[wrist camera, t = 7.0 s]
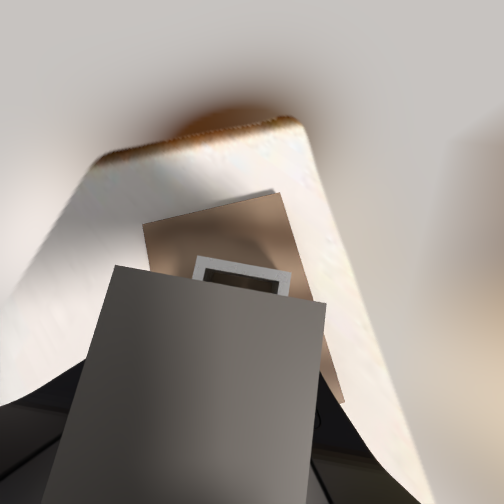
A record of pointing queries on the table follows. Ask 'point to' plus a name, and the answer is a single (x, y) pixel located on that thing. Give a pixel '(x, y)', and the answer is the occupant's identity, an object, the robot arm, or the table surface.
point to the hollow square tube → (242, 273)
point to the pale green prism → (192, 397)
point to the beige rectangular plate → (236, 251)
